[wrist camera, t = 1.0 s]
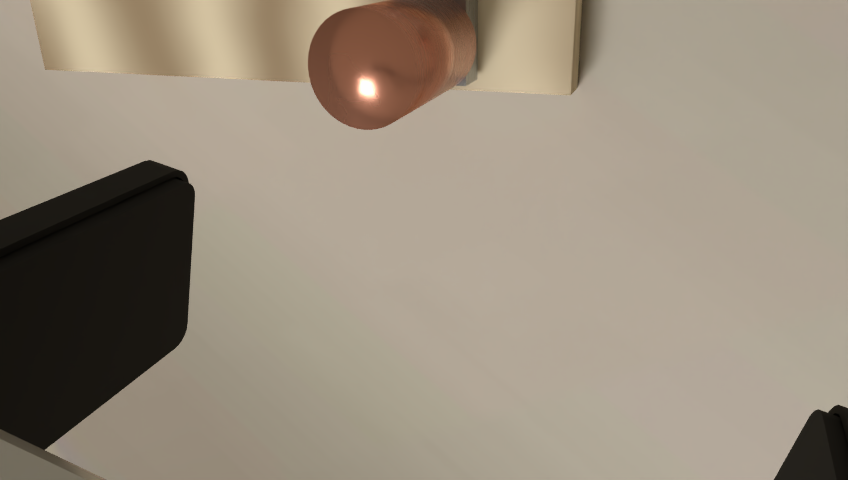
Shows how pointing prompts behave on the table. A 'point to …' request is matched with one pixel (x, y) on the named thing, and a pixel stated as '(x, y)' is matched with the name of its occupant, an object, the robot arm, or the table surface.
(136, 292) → the robot arm
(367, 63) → the lever
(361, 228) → the table surface
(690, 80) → the table surface
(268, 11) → the board
